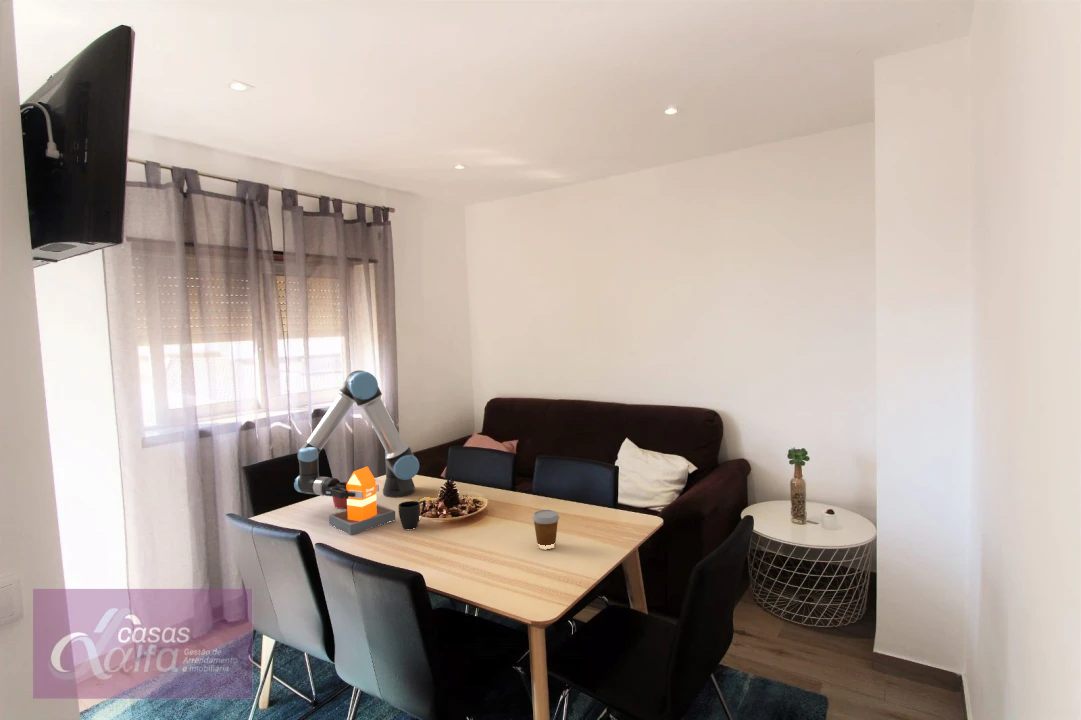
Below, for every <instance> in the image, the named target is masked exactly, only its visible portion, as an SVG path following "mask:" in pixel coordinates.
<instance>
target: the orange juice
mask: <svg viewBox="0 0 1081 720" xmlns="http://www.w3.org/2000/svg"><path fill="white" fill-rule="evenodd" d="M347 482H348V483H347V484H346V486H347V490H348V492H349V490H355V491H363V498H362V499H361V498H353V497H349V496H348V499H347V511H348V520H355V521H361V520H365V519H368V518H371V517H373V516H375V515H376V514H377V507H376V504H377V491H376V484H377V483H376V482H377V481H376V478H375V477H374V475H373V474H372V472H371V470H370V469H369V466H365V467H362V468H360V469H357V470H354V471H353V472H352V474H351V475H350V478H349V480H348V481H347Z"/></svg>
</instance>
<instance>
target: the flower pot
mask: <svg viewBox="0 0 1081 720" xmlns="http://www.w3.org/2000/svg"><path fill="white" fill-rule="evenodd" d="M344 482H345V483H347V482H348V481H344ZM331 498H332V500H333V504H334V508H336V507H337V508H336V509H346V508H345V507H347V499H345V497H344V498H343V499H341V498H337V497H334V496H331Z"/></svg>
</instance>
